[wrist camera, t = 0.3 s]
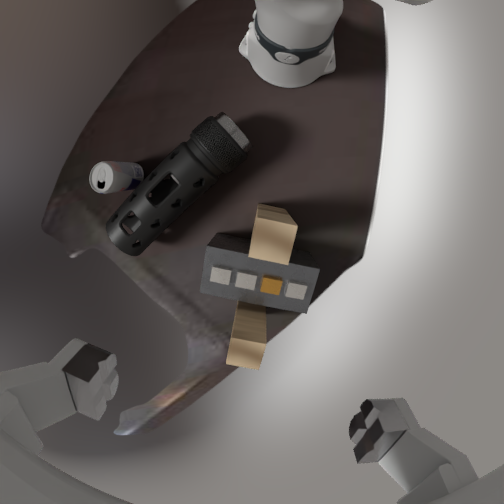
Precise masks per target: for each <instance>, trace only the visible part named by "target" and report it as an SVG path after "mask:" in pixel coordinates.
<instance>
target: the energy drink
mask: <svg viewBox="0 0 504 504" xmlns="http://www.w3.org/2000/svg"><path fill="white" fill-rule="evenodd" d="M143 179H144V172H143V169H142V167H141V166H140V165H139V164H137V163H129V162H113V161H103V162H100V163H98V164H96V165H95V166H94V167H93V169H92V170H91V173H90V184H91V187H92V188H93V189H94V190H95V191H96V192H99V193H102V194H105V193H111V192H118V191H125V190H132V189H136V188H137V187H138V186H139V185H140V184H141V183H142V182H143Z"/></svg>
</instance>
